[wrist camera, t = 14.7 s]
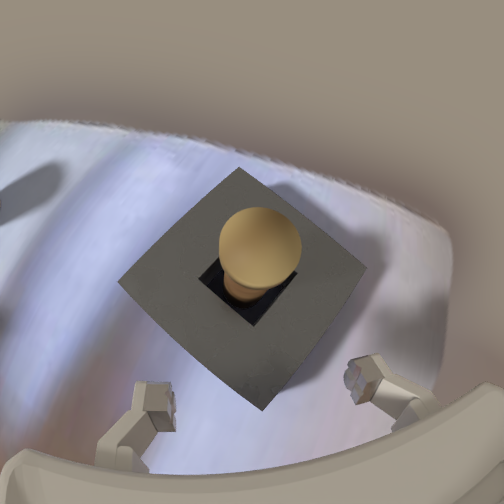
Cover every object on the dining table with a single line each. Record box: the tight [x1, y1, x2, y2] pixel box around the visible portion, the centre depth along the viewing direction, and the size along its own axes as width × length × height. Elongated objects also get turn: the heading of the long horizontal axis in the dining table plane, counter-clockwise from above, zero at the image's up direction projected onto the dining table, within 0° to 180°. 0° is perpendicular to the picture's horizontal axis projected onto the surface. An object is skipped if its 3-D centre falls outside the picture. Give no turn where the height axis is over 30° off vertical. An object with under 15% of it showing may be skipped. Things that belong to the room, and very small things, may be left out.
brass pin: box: [219, 207, 302, 309], centre depth 22 cm, size 5×5×12 cm
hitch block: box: [118, 167, 366, 411], centre depth 25 cm, size 16×16×5 cm
